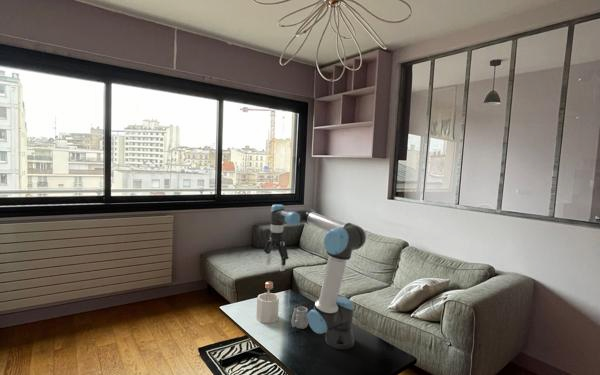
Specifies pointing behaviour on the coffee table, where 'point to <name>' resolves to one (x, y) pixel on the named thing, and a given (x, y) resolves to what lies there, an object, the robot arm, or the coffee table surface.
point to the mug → (300, 318)
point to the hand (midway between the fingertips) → (275, 267)
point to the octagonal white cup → (267, 308)
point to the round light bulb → (268, 286)
